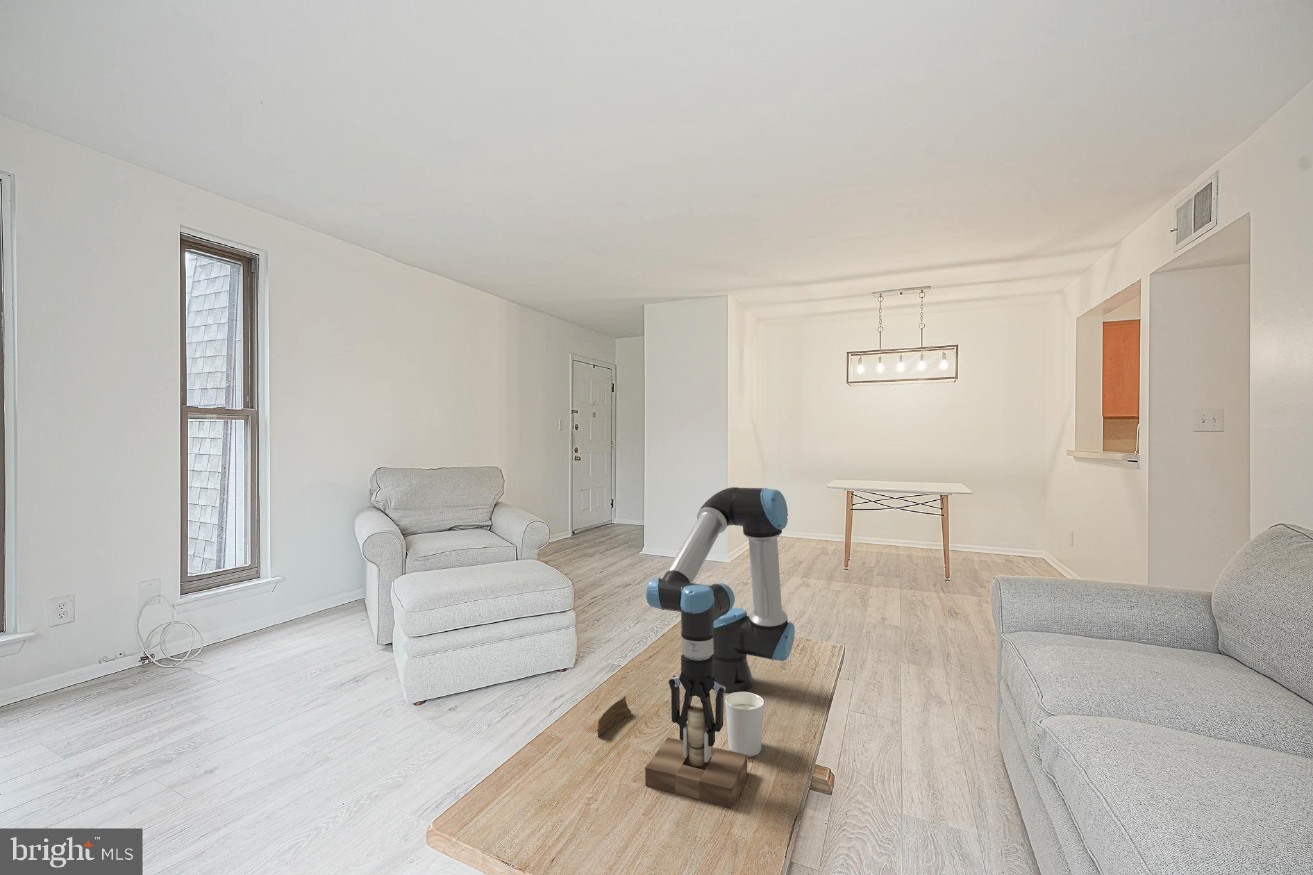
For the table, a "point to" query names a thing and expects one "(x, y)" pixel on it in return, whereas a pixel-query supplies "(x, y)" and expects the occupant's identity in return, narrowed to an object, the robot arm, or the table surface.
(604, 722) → the wood plank
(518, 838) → the table surface
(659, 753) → the wooden block with hole
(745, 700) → the candle holder
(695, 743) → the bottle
